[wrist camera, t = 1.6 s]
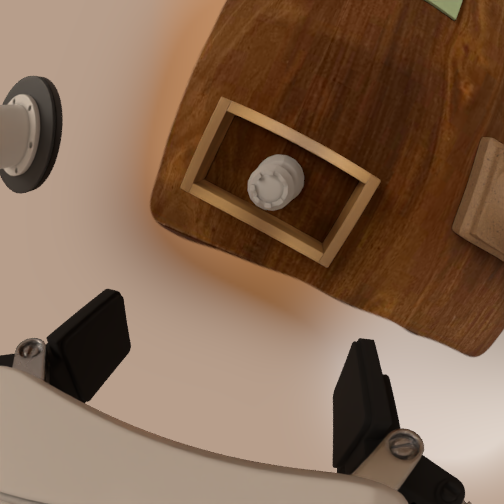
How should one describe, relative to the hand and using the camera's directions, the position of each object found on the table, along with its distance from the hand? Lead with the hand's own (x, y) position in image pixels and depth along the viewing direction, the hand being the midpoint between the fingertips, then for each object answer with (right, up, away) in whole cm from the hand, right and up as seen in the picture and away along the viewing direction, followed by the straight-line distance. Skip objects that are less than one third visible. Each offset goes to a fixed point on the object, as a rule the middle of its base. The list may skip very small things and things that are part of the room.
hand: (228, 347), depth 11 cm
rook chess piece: (+4, +11, +16) cm, 19 cm away
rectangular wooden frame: (+3, +10, +16) cm, 19 cm away
